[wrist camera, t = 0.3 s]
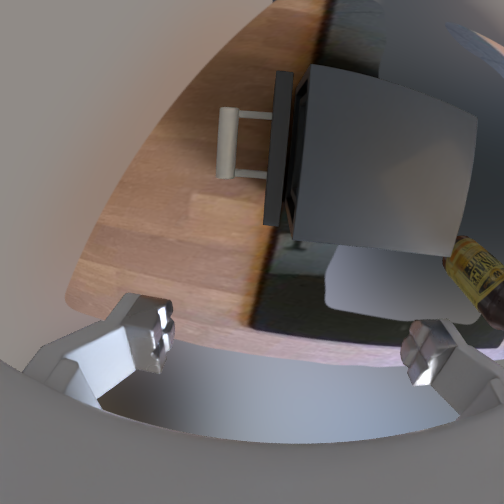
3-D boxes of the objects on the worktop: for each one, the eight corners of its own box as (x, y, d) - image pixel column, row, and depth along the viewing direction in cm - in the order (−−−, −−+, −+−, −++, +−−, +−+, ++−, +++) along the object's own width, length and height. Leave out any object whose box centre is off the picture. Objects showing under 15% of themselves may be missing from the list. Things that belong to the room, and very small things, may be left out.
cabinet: (284, 203, 30) (291, 240, 20) (295, 87, 24) (310, 63, 15) (403, 219, 29) (450, 257, 20) (419, 116, 24) (478, 117, 14)
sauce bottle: (468, 225, 29) (564, 302, 11) (472, 261, 31) (552, 343, 13) (434, 245, 31) (526, 341, 12) (440, 281, 33) (514, 377, 15)
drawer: (224, 194, 29) (206, 220, 21) (231, 86, 24) (214, 67, 16) (383, 212, 28) (419, 243, 20) (398, 113, 24) (443, 110, 16)
